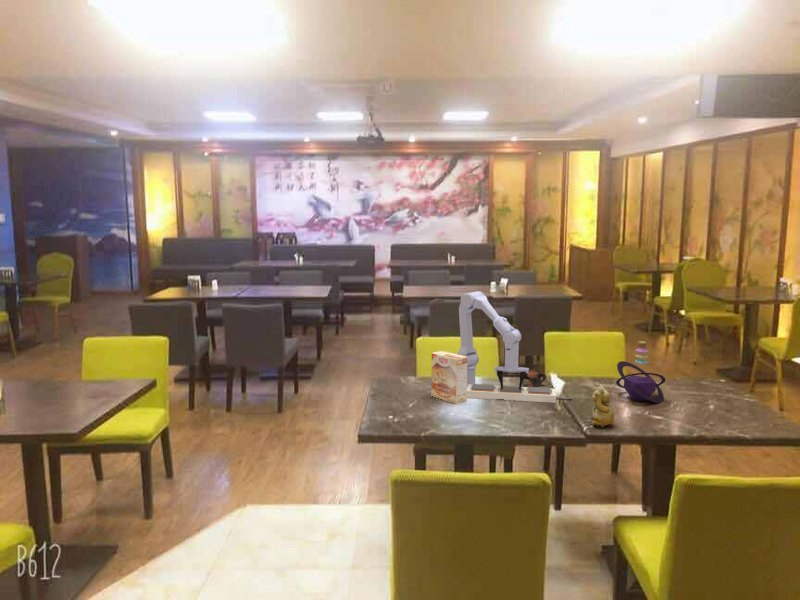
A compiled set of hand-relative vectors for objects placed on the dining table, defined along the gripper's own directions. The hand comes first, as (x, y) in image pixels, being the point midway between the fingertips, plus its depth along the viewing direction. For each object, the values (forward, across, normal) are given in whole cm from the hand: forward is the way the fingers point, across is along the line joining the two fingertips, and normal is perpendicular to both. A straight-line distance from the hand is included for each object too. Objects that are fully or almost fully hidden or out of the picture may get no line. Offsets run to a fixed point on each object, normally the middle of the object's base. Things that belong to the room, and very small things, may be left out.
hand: (511, 388), depth 277 cm
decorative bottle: (+4, +54, +7) cm, 55 cm away
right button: (+2, +12, 0) cm, 12 cm away
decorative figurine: (+4, +35, -30) cm, 46 cm away
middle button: (+2, 0, 0) cm, 2 cm away
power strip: (+4, +4, 0) cm, 5 cm away
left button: (+2, -12, 0) cm, 12 cm away
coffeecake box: (+4, -26, -8) cm, 27 cm away
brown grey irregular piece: (+4, +10, +21) cm, 23 cm away
